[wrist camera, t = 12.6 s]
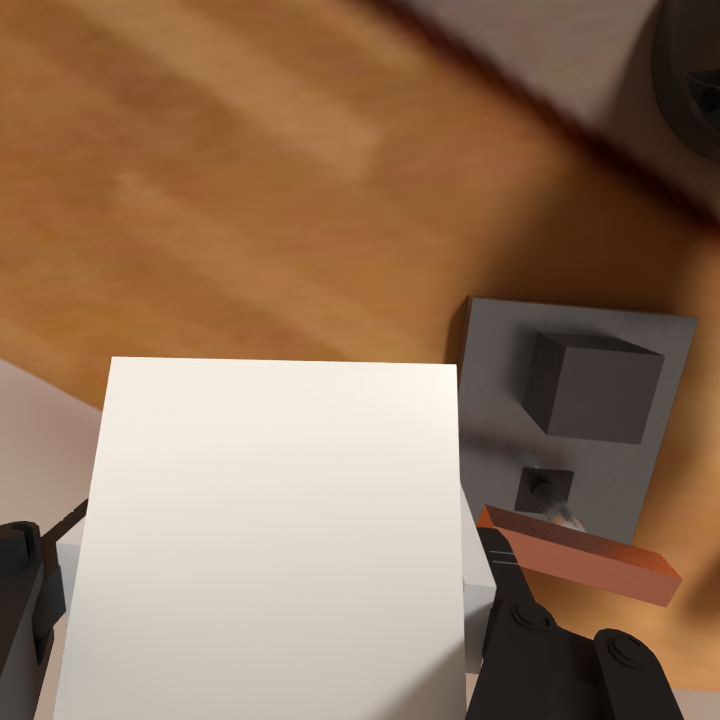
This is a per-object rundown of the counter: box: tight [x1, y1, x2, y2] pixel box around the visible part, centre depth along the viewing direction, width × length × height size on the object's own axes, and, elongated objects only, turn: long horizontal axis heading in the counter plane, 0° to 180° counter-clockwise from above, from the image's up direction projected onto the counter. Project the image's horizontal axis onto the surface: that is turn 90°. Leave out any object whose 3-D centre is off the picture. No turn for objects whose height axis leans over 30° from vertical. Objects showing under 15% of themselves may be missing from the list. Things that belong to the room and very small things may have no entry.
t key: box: [476, 483, 683, 607], centre depth 29 cm, size 12×2×8 cm, turn 74°
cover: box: [53, 357, 467, 720], centre depth 12 cm, size 9×9×4 cm
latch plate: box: [457, 295, 698, 546], centre depth 31 cm, size 20×16×7 cm
